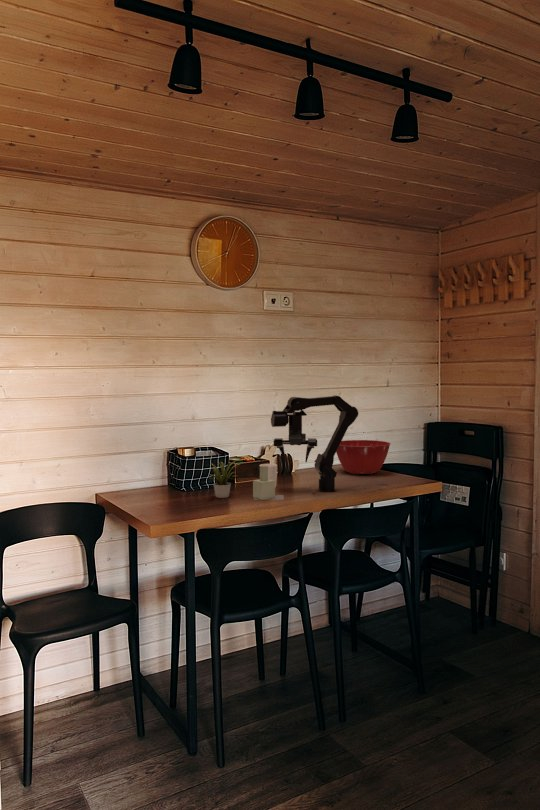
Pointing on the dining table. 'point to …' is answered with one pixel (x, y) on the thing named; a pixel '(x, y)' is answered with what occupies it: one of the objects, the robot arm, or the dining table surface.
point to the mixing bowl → (362, 455)
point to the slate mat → (277, 497)
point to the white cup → (272, 472)
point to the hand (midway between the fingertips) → (295, 462)
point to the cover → (263, 485)
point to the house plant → (222, 480)
